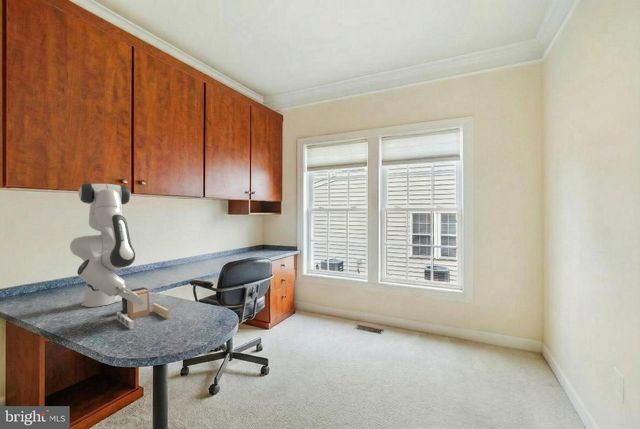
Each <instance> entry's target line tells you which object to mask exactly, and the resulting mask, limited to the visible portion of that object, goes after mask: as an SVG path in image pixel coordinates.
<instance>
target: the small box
mask: <svg viewBox="0 0 640 429" xmlns="http://www.w3.org/2000/svg"><path fill="white" fill-rule="evenodd" d="M144 289H146V290H148V291H149V289H148V287H147V288H146V287H143V286H142V287H138V288H133V289H129V290H130V291H132V292H134V291H139V290H144ZM121 304H122V309H121V311H122V312H123V313H125V314H128V311H127V300H126V299H125V298H123V297H122V300H121Z"/></svg>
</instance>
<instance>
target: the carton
mask: <svg viewBox="0 0 640 429" xmlns="http://www.w3.org/2000/svg"><path fill="white" fill-rule="evenodd" d="M134 293H135V294H137V295H138V296H139V299H140V300H141V301H142V302H143V304H142V305H139V304H137V303H132V302H130V301H128V300H127V311H128V313H127V317H128V318H130V319H131V320H136V319H139V318H143V317H147V316H148V317H149V316H150V315H151V314H150V313H151V312H150V290H149V289H148V290H146V289H144V290H139V291H134Z"/></svg>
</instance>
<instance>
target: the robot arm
mask: <svg viewBox="0 0 640 429" xmlns="http://www.w3.org/2000/svg"><path fill="white" fill-rule="evenodd" d="M77 194H78V198H79V199H80V202H82V203H83V204H88V205H90V206H89V213H88V214H89V215H88V225H89V227H90V228H91V229H93V230H95V231H98V232H100V234H96V235H83V236H79V237H75V238H73V240H71V242H70V244H69V249H70V251H71V252H70V253H72V254H73V255H74V256H77V257H78V258H80V259H81V260H82V261H83V262H82V263H81V264H80V266H79V267H78V269H77V276H78V277H79V278H80V279H81V280H83V281H84V282H85V283H86V284H87V288H86V289H85V290H84V296H83V297H84V299H83V301H84V302H82V303H81V304H80V305H81V307H82V306H83V307H87V308H95V307H96V308H97V307H101V306H102V307H103V306H107V305H111V304H115V303H119V302H122V297H123V298H125V299H126V300H128V301H130V302H132V303H137V304H139V305H142V304H143V302H142V301H141V300H140V299H139V296H138V295H137V294H135V293H134V292H132V291H130V290H131V289H129V288H127V286H126V283H125V282H126V280H125V279H123V278H122V277H121V276H120V275H118V274H116V271H117V270H119V269H122V268H123V269H124V268H126V267H129V266H131V265H132V264H133V263H134V262H135V260H136V253H135V249H134V248H133V245H132V243H131V237H130V232H129V226H128V222H127V220H126V218H125V217H124V213H123V205H126V204H128V203H129V202H130V200H131V190H130V188H129V187H128V186H126V185H122V184H120V185H119V184H111V183H91V182H89V183H87V182H85V183H83V184H82V185H80V187H79V189H78V193H77Z"/></svg>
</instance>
